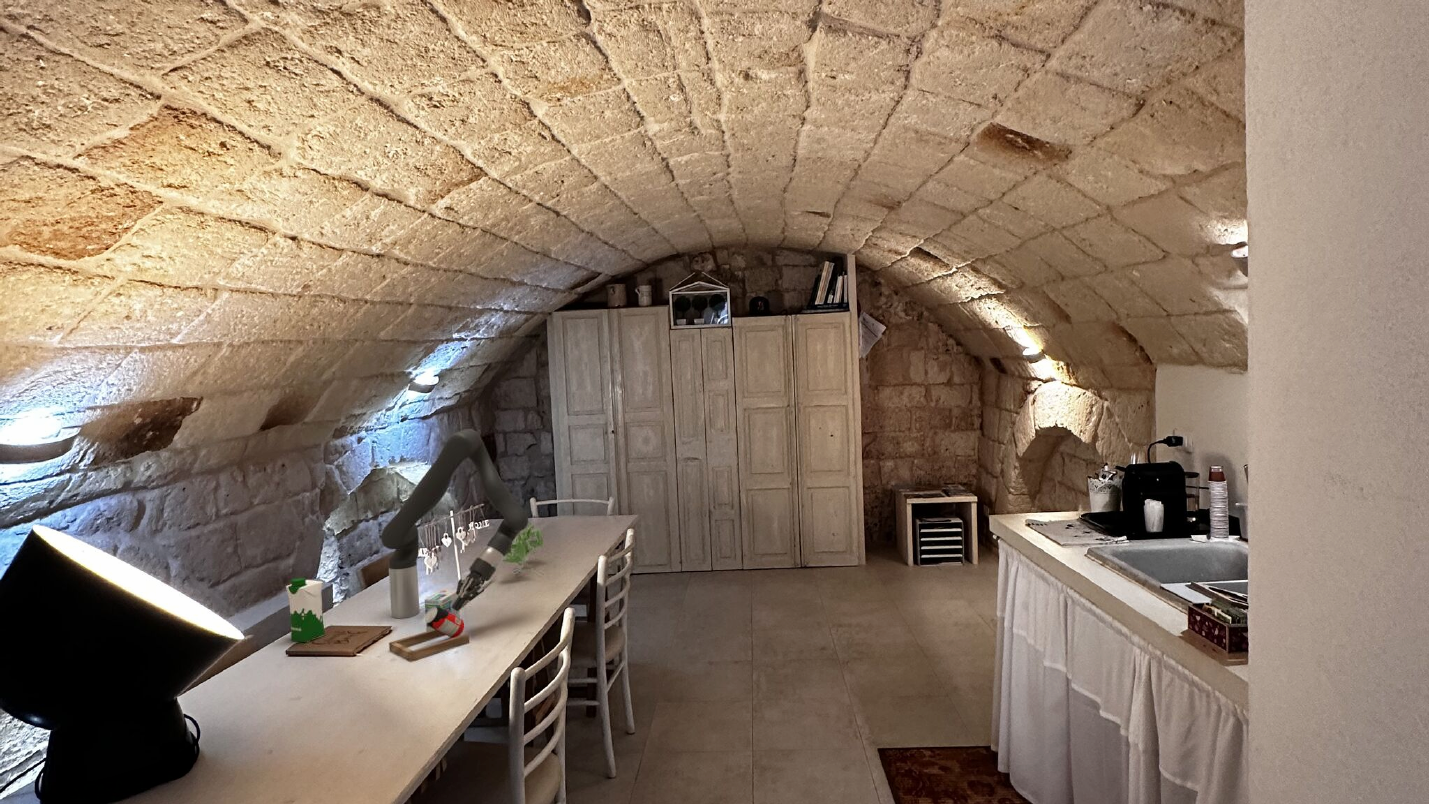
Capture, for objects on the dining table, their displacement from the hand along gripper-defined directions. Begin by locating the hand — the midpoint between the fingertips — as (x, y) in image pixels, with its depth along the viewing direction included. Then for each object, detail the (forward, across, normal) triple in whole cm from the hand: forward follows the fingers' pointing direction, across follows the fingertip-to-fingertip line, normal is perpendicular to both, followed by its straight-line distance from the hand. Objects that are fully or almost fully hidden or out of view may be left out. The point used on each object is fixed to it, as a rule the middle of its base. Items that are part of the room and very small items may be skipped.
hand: (454, 609), depth 244 cm
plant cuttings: (-34, -44, +48) cm, 73 cm away
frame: (+13, 0, 0) cm, 13 cm away
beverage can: (+4, 0, +6) cm, 7 cm away
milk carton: (+28, -40, -14) cm, 51 cm away
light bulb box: (+5, -14, +9) cm, 17 cm away
